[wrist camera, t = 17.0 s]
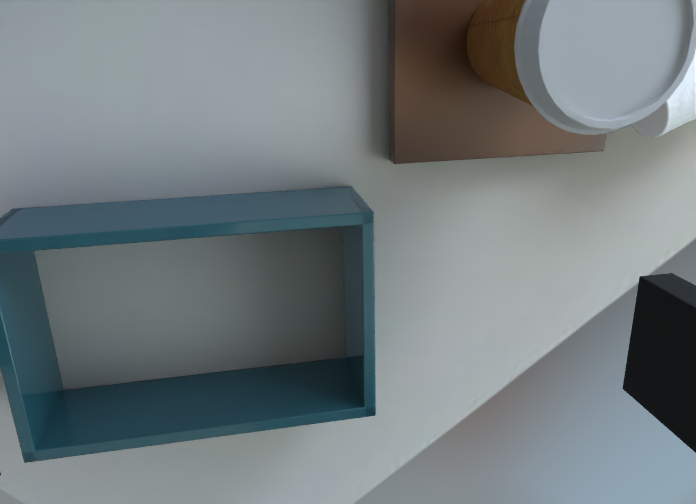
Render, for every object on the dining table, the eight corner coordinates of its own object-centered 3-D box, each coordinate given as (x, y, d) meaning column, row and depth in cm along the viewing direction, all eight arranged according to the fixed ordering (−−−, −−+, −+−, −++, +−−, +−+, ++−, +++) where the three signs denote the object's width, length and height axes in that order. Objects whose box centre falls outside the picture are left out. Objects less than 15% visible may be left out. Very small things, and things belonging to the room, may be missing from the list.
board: (388, -95, 37) (394, -101, 36) (620, -92, 40) (634, -97, 38) (388, 160, 42) (394, 164, 41) (592, 147, 45) (604, 151, 44)
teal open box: (11, 208, 39) (-32, 242, 32) (351, 185, 43) (374, 211, 36) (54, 400, 44) (23, 463, 37) (355, 364, 47) (375, 415, 41)
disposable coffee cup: (602, 34, 41) (743, 30, 30) (506, 140, 42) (607, 176, 31) (514, -74, 37) (636, -123, 26) (413, 45, 39) (488, 47, 28)
